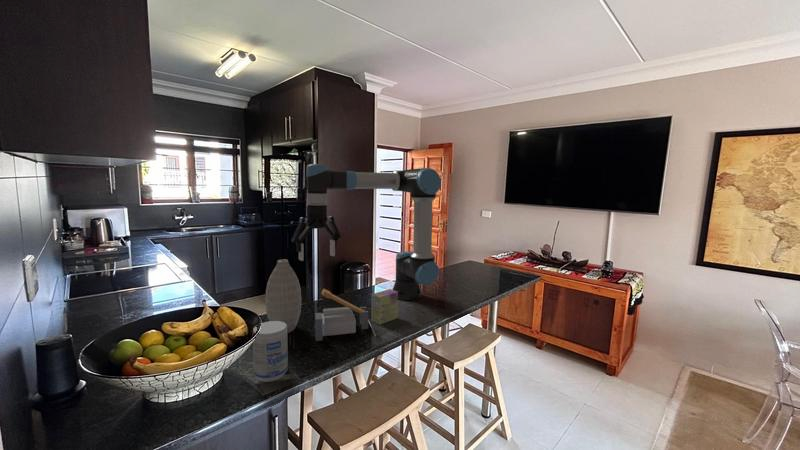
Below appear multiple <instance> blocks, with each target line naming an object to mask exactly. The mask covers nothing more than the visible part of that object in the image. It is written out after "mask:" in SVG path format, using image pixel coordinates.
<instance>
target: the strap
mask: <svg viewBox="0 0 800 450" xmlns="http://www.w3.org/2000/svg"><path fill="white" fill-rule="evenodd" d="M321 295H322V296H323V297H324V298H326V299H329V300H330V299H331V300H333V301H334V302H337V303H338V304H340V305H342V306H344V307H348V308H350V309H352V311H354V312H356V313H357V314H359V315H360V314H362V311H365V310H362V309H360V307H358V306H357V305H354V304H352V303H350V302H349V301H347V300H344V299H343V298H340V296H336V295H335V294H333V293H332V292H331V291H330V290H328V289H325V288H323V289H322V290H321Z"/></svg>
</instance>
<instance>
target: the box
mask: <svg viewBox="0 0 800 450" xmlns="http://www.w3.org/2000/svg"><path fill="white" fill-rule="evenodd" d="M398 315H399V299H398V292H397V291H394V290H393V289H391V288H390V289H385V290H382V291H378V292H375V293H371V315H370V316H371V321H370V322H373V323H375V324H377V325H383V324H385V323H389V322H391V321H393V320H396V319H398V318H399V317H398Z"/></svg>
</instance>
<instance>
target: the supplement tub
mask: <svg viewBox="0 0 800 450" xmlns="http://www.w3.org/2000/svg"><path fill="white" fill-rule="evenodd" d="M260 324H261V329H260V332H259V334H258V335H257V337H256V338H255V340H254V342H253V341H252V353H253V354H252V357H253V360H252V361H253V364H252V365H253V367H252V368H253V377H254V379H255V380H256V381H258V382H262V383H269V382H270V383H271V382H275V381H278V380H280V379H282V378H283V377H284V376H286V373H287V372H288V369H289V367H288V366H289V363H288V362H289V359H288V357H289V356H288V353H289V351H288V350H289V349H288V333H287V325H286V324H285V323H284V322H281V321H269V320H268V321H264V322H262V323H260ZM256 326H257V325H255V326H254V327H253V329H252V334H253V333H256V331H257V327H256Z"/></svg>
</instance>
